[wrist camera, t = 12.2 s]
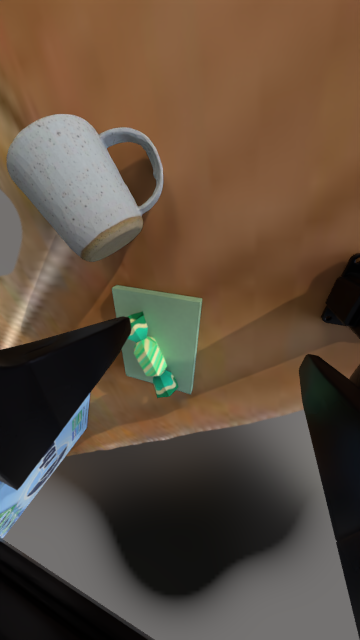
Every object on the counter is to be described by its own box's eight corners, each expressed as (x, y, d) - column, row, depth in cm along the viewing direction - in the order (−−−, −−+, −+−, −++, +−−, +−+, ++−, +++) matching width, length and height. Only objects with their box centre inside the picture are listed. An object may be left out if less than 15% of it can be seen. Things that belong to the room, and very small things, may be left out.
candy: (118, 319, 24) (116, 330, 20) (142, 308, 24) (144, 317, 21) (154, 384, 29) (158, 403, 25) (174, 374, 29) (181, 392, 25)
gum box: (87, 427, 51) (-7, 553, 32) (72, 418, 51) (-30, 538, 32) (91, 389, 40) (-48, 547, 21) (71, 378, 40) (-84, 524, 21)
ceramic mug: (115, 258, 22) (64, 275, 16) (69, 192, 20) (-13, 181, 14) (185, 199, 17) (152, 189, 11) (133, 101, 15) (52, 15, 8)
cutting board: (202, 298, 21) (200, 302, 20) (192, 388, 30) (190, 394, 29) (116, 284, 24) (111, 287, 23) (129, 370, 32) (126, 375, 31)
